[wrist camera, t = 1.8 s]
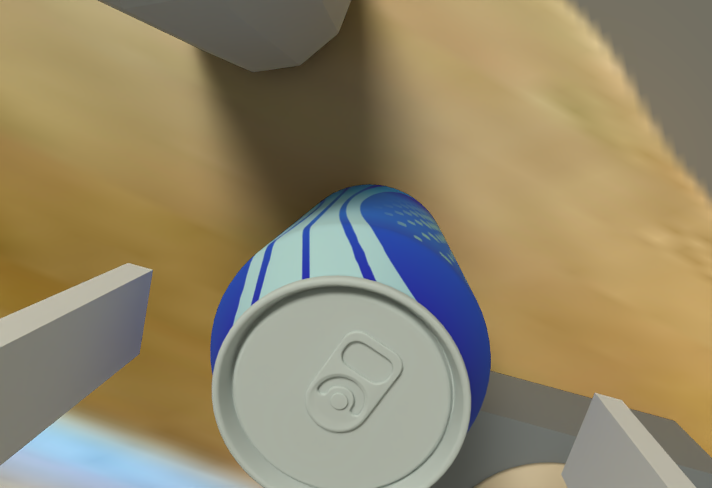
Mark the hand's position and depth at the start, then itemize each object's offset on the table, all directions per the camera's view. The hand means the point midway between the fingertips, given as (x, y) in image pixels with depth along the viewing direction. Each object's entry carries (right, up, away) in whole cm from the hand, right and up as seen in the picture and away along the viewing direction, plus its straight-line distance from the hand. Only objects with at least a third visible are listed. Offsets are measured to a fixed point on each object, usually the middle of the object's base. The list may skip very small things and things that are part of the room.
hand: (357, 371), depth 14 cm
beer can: (+1, +3, +14) cm, 14 cm away
